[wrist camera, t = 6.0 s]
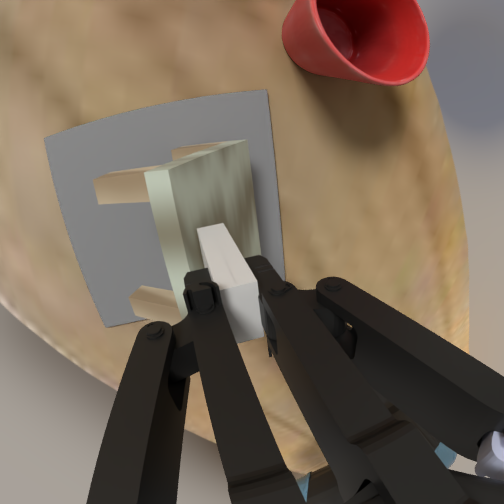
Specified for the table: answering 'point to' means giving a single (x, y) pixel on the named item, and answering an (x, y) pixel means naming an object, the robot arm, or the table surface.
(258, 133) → the mat
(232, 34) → the table surface
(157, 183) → the stool
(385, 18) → the flower pot
